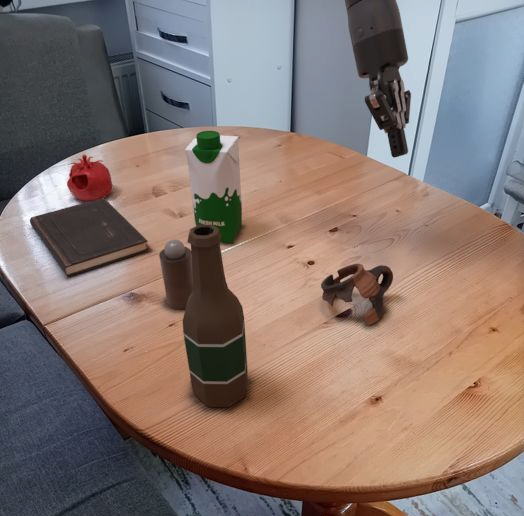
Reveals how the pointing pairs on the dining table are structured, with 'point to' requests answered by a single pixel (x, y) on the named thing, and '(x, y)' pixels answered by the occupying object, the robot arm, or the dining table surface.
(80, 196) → the pomegranate
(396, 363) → the dining table surface
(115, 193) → the dining table surface
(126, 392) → the dining table surface
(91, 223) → the hardcover book
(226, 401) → the beer bottle
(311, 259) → the dining table surface
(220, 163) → the milk carton
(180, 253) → the roll-on deodorant
